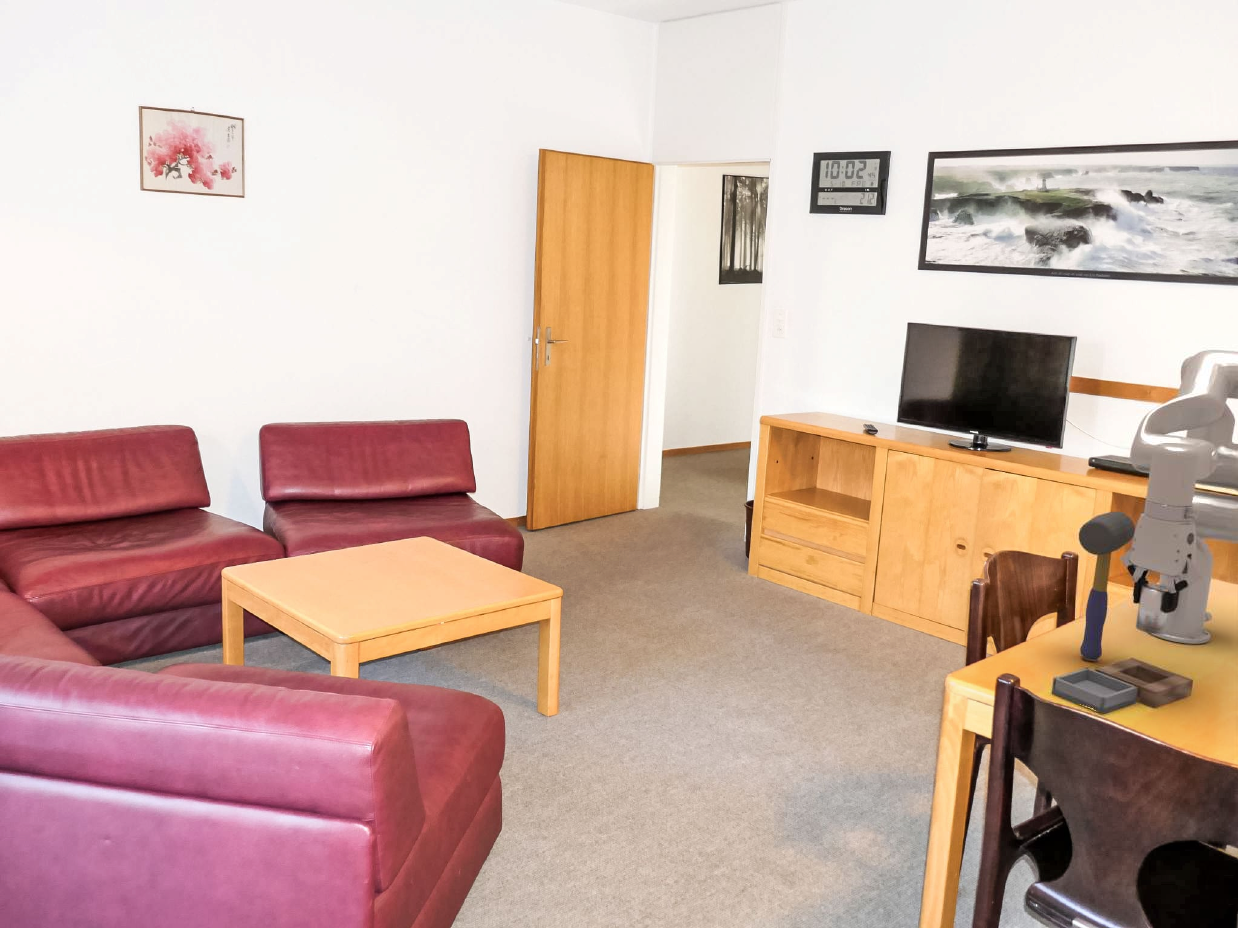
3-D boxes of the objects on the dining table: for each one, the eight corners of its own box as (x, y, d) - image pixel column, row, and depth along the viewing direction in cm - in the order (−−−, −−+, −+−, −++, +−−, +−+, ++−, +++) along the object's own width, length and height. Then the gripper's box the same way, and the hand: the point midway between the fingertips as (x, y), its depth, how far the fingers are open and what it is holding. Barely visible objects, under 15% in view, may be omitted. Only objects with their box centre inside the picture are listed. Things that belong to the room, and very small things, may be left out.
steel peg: (1145, 622, 200) (1151, 581, 198) (1171, 630, 196) (1177, 589, 194) (1130, 626, 197) (1135, 585, 196) (1155, 635, 193) (1161, 593, 192)
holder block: (1130, 672, 207) (1132, 657, 206) (1190, 694, 197) (1193, 679, 196) (1093, 683, 200) (1095, 668, 200) (1153, 707, 191) (1156, 692, 190)
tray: (1085, 682, 201) (1087, 667, 200) (1135, 702, 192) (1138, 687, 192) (1051, 693, 195) (1053, 677, 195) (1102, 714, 187) (1104, 698, 186)
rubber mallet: (1097, 673, 206) (1118, 523, 200) (1058, 661, 211) (1077, 515, 205) (1120, 656, 215) (1140, 513, 209) (1082, 646, 220) (1101, 505, 214)
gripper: (1226, 520, 187) (1211, 617, 191) (1135, 498, 201) (1123, 590, 205) (1202, 525, 183) (1187, 625, 187) (1111, 503, 197) (1099, 596, 201)
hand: (1154, 605), depth 196 cm, fingers closed on steel peg, 5 cm apart
